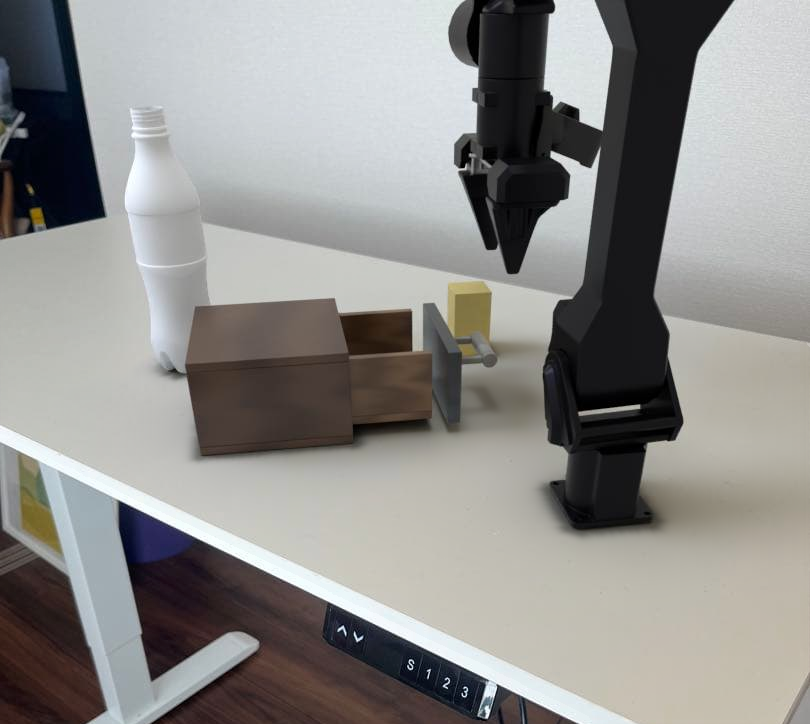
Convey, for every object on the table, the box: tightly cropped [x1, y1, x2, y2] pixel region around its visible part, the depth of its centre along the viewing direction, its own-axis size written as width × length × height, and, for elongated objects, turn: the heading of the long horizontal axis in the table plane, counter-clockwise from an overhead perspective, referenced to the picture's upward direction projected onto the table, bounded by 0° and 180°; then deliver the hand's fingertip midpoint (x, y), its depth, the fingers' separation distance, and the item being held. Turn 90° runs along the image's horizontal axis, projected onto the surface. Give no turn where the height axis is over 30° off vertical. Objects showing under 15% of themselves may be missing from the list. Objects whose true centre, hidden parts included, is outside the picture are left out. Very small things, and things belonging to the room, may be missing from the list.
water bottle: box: [124, 105, 212, 375], centre depth 82 cm, size 7×7×25 cm
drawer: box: [338, 302, 498, 425], centre depth 78 cm, size 17×13×7 cm
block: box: [446, 280, 493, 357], centre depth 90 cm, size 4×4×7 cm
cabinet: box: [185, 297, 354, 456], centre depth 77 cm, size 14×15×9 cm
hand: (501, 261), depth 79 cm, fingers open, 8 cm apart
